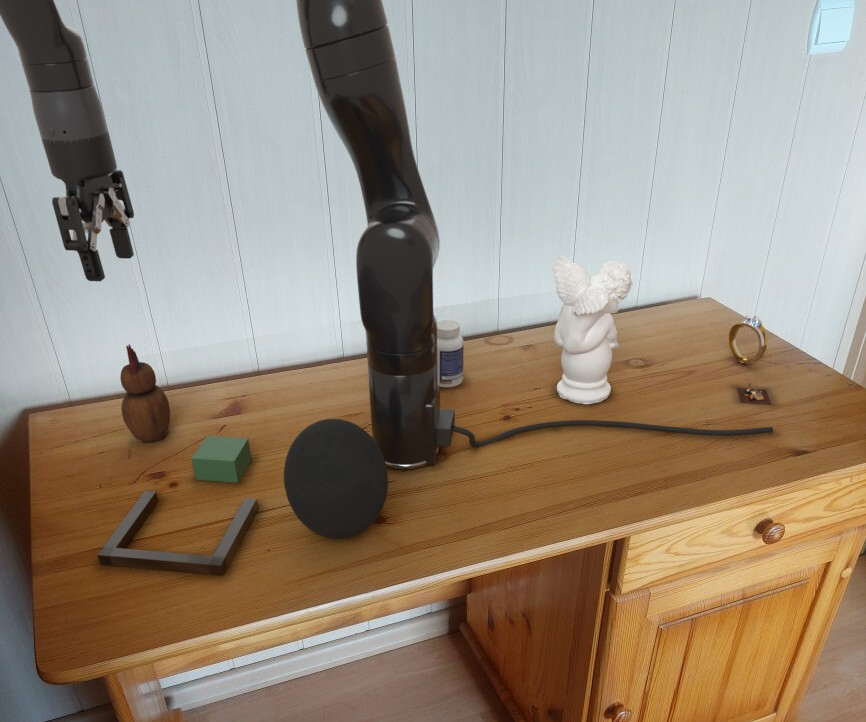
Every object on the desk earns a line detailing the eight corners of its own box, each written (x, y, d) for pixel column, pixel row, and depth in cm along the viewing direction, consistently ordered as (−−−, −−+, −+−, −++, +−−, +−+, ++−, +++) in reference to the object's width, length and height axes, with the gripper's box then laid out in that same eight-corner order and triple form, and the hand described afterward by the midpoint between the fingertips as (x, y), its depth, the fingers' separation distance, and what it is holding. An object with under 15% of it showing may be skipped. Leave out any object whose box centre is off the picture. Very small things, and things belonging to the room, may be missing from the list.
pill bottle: (469, 378, 135) (470, 322, 129) (452, 391, 131) (452, 334, 125) (441, 370, 137) (441, 315, 131) (424, 383, 133) (423, 326, 127)
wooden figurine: (160, 449, 118) (136, 352, 108) (123, 445, 119) (96, 349, 109) (180, 426, 123) (159, 332, 114) (145, 422, 124) (121, 328, 115)
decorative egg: (340, 574, 95) (329, 466, 86) (271, 533, 102) (254, 428, 93) (410, 526, 103) (407, 421, 94) (342, 490, 109) (332, 389, 100)
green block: (252, 459, 115) (248, 438, 113) (238, 483, 111) (234, 461, 109) (211, 456, 116) (206, 435, 114) (196, 479, 111) (191, 458, 109)
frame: (258, 508, 106) (256, 498, 105) (223, 576, 95) (220, 565, 94) (147, 500, 108) (144, 490, 107) (100, 565, 97) (97, 554, 96)
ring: (764, 369, 137) (776, 323, 132) (749, 372, 136) (761, 327, 131) (735, 353, 142) (745, 308, 137) (720, 356, 140) (730, 311, 136)
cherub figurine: (612, 378, 134) (631, 243, 121) (628, 416, 124) (651, 273, 111) (538, 380, 134) (549, 244, 120) (549, 417, 124) (562, 274, 111)
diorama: (744, 400, 128) (748, 388, 127) (741, 389, 131) (744, 377, 130) (764, 401, 128) (767, 389, 126) (760, 390, 131) (764, 378, 129)
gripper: (74, 144, 90) (114, 289, 100) (130, 118, 101) (160, 250, 111) (11, 144, 90) (57, 288, 100) (73, 118, 102) (109, 250, 112)
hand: (111, 268), depth 106 cm, fingers open, 8 cm apart
